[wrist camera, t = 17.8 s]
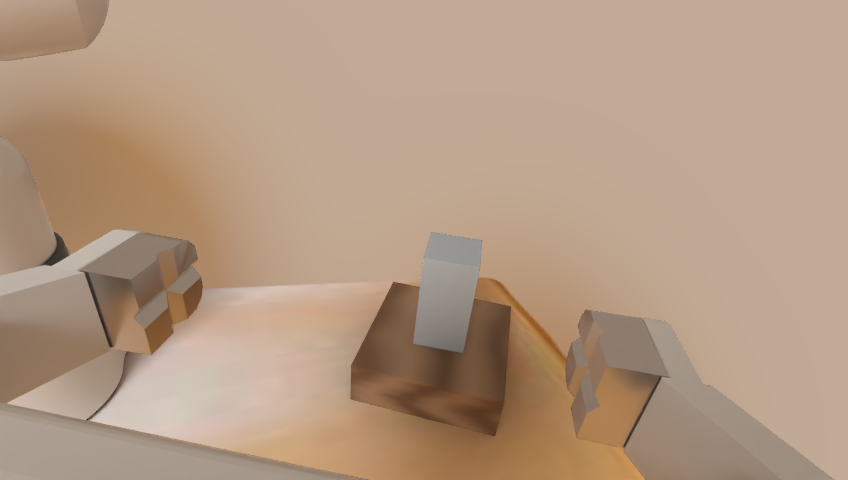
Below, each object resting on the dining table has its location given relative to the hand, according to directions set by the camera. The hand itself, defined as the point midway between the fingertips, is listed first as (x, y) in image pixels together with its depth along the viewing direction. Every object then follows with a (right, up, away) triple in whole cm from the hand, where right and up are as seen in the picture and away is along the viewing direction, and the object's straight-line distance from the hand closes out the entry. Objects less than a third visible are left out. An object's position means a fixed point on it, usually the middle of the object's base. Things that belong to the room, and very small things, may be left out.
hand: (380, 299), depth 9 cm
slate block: (+3, -8, +36) cm, 37 cm away
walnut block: (+2, -13, +38) cm, 40 cm away
